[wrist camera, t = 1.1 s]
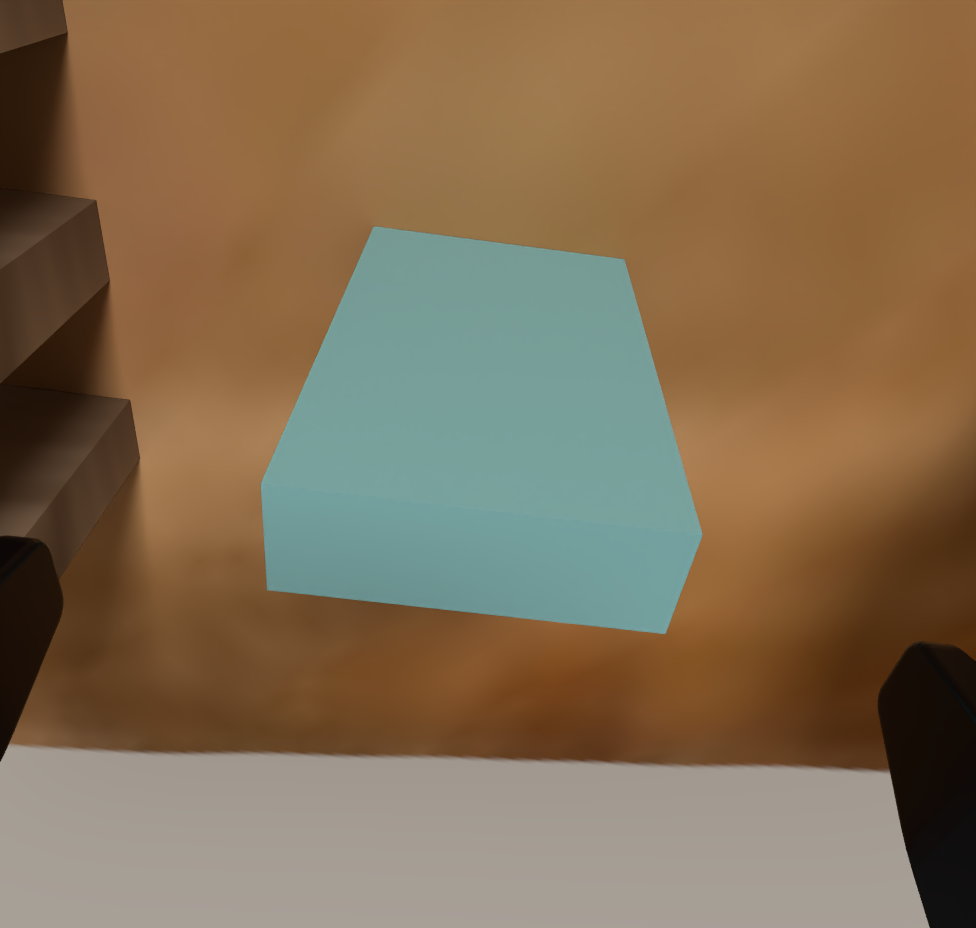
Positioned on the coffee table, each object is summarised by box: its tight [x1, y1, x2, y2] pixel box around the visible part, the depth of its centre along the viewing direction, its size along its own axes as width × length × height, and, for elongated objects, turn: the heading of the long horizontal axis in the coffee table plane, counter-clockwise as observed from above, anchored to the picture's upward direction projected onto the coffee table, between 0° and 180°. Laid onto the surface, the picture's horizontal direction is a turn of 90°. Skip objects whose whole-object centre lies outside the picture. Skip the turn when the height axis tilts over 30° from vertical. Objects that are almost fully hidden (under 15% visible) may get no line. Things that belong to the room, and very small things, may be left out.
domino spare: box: [261, 226, 702, 634], centre depth 12 cm, size 2×5×8 cm, turn 83°
